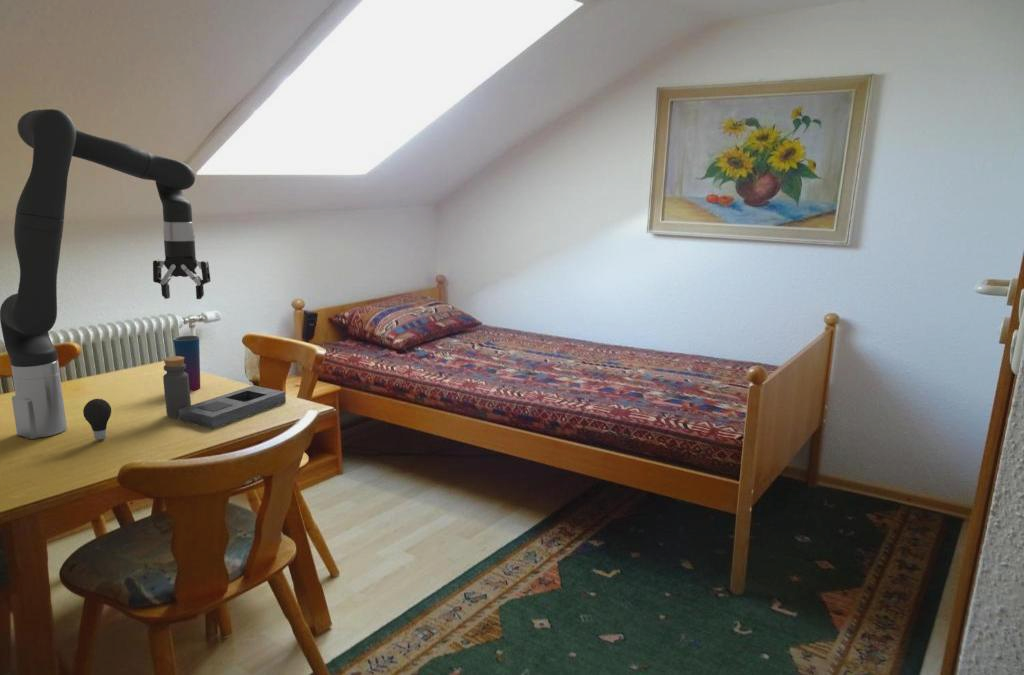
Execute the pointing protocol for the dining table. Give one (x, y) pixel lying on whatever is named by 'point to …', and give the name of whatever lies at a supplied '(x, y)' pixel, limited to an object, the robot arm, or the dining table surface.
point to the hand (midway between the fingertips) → (183, 298)
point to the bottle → (176, 386)
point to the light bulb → (97, 416)
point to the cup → (189, 358)
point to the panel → (231, 406)
